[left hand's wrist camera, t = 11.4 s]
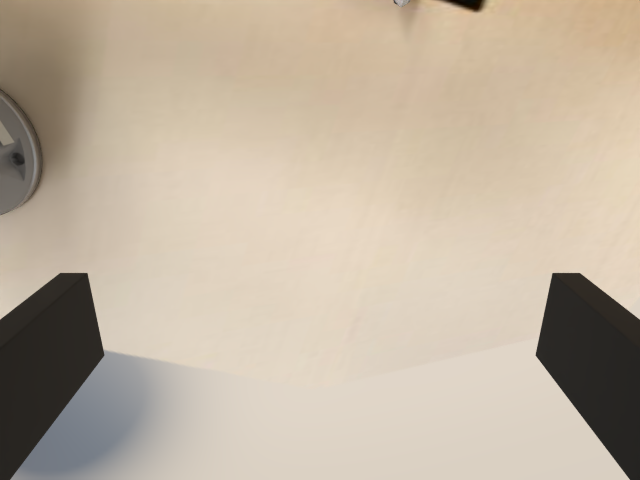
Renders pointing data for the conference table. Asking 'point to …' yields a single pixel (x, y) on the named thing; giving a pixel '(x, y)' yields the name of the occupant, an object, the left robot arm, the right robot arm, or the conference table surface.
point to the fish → (401, 2)
